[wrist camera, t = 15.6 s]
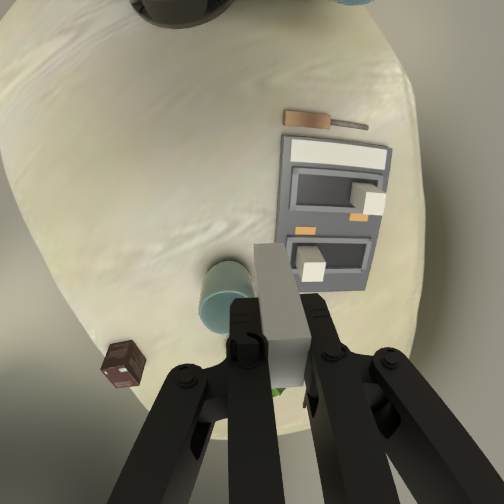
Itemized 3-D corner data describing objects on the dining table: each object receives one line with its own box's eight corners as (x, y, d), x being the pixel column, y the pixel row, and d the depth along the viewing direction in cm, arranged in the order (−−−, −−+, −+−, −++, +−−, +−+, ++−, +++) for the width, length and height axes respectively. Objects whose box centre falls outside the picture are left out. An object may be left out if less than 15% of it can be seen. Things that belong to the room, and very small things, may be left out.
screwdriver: (283, 124, 38) (285, 125, 36) (283, 110, 37) (286, 110, 35) (364, 133, 39) (369, 135, 37) (365, 120, 38) (371, 121, 36)
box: (123, 362, 57) (115, 388, 50) (109, 343, 54) (99, 369, 48) (147, 359, 57) (140, 386, 50) (133, 339, 54) (123, 366, 47)
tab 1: (297, 245, 44) (304, 262, 39) (317, 245, 44) (326, 262, 39) (295, 263, 45) (301, 281, 41) (314, 263, 45) (322, 281, 41)
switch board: (281, 135, 38) (285, 137, 36) (386, 146, 40) (395, 149, 37) (271, 285, 49) (273, 295, 47) (360, 284, 50) (366, 293, 48)
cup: (241, 246, 46) (242, 282, 37) (260, 285, 49) (265, 325, 40) (195, 264, 47) (187, 302, 38) (217, 301, 50) (215, 342, 41)
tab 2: (352, 181, 40) (366, 191, 35) (371, 183, 40) (386, 193, 35) (349, 202, 41) (362, 214, 36) (368, 203, 41) (382, 215, 37)
